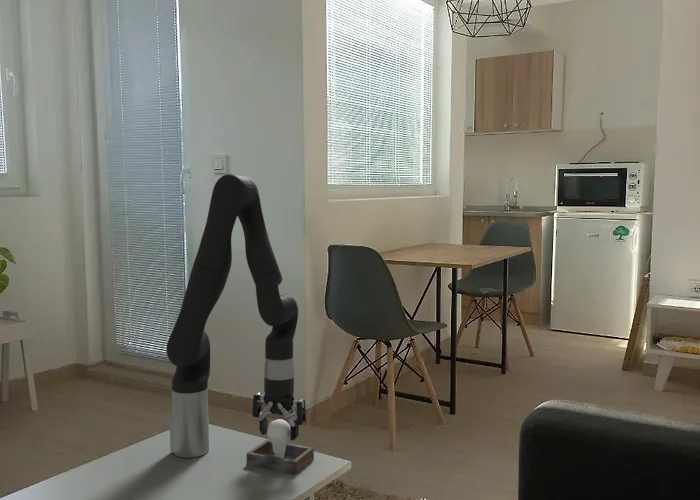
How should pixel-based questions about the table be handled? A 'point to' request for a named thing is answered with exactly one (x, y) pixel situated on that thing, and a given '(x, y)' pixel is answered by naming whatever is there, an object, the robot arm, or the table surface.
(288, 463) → the brown wooden shallow box
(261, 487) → the table surface
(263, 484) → the table surface
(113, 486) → the table surface
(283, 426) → the lightbulb
